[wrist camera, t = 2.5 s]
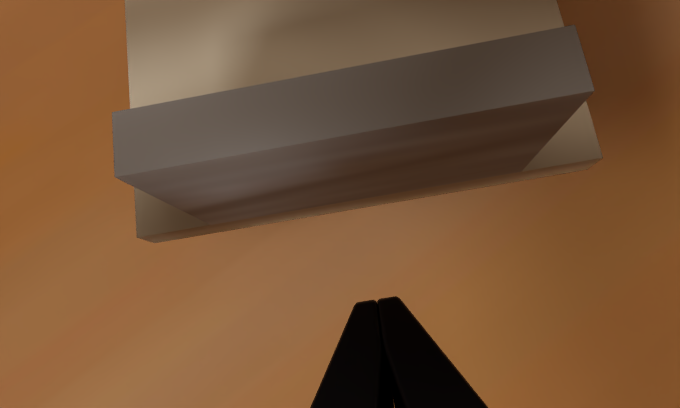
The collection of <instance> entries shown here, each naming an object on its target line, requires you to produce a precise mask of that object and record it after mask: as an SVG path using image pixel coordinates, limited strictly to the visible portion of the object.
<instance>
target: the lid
mask: <svg viewBox="0 0 680 408" xmlns="http://www.w3.org/2000/svg"><path fill="white" fill-rule="evenodd" d="M125 16H126V35H127V55H128V74H129V94H130V109H127V110H122V111H116V112H112V123H113V147H114V171H115V177H116V178H118V179H120V180H122V181H124V182H126V183H128V184H130V185H132V186H134V192H135V212H136V231H137V238H140V239H143V240H146V241H150V242H153V243H158V242H164V241H170V240H176V239H182V238H188V237H194V236H200V235H205V234H211V233H217V232H223V231H229V230H235V229H241V228H247V227H252V226H258V225H264V224H270V223H276V222H282V221H288V220H294V219H300V218H305V217H311V216H317V215H323V214H329V213H335V212H341V211H347V210H352V209H358V208H364V207H370V206H376V205H382V204H388V203H394V202H399V201H405V200H411V199H417V198H423V197H429V196H435V195H441V194H447V193H452V192H458V191H464V190H470V189H476V188H482V187H488V186H494V185H499V184H505V183H511V182H517V181H523V180H529V179H535V178H541V177H546V176H552V175H558V174H564V173H570V172H576V171H582V170H587V169H589V168H590V167H591V166H593V165H594V164H595V163H597V162H598V161H599V160H601V159H602V158H603V156H602V153H601V149H600V146H599V143H598V139H597V136H596V132H595V129H594V126H593V122H592V119H591V115H590V112H589V109H588V105H587V102H586V100H587V99H588V97H589V96H590V95H591V94H592V93H593V92H594V91H595V90H594V86H593V83H592V80H591V76H590V73H589V70H588V66H587V63H586V60H585V57H584V53H583V50H582V47H581V43H580V40H579V37H578V33H577V30H576V27H575V25H570V26H565V27H564V24H563V21H562V17H561V14H560V10H559V7H558V4H557V0H125Z"/></svg>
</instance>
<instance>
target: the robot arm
mask: <svg viewBox="0 0 680 408" xmlns="http://www.w3.org/2000/svg"><path fill="white" fill-rule="evenodd" d="M393 400H394V401H393ZM394 405H395V408H488V407H487V406H486V404H485V403H484V402H483V401H482V399H481V398H480V397H479V396H478V394H477V393H476V392H475V391H474V390H473V388H472V387H471V386H470V385H469V383H468V382H467V381H466V380H465V378H464V377H463V376H462V375H461V373H460V372H459V371H458V370H457V369H456V367H455V366H454V365H453V364H452V362H451V361H450V360H449V359H448V357H447V356H446V355H445V354H444V352H443V351H442V350H441V349H440V348H439V346H438V345H437V344H436V343H435V341H434V340H433V339H432V338H431V336H430V335H429V334H428V333H427V332H426V330H425V329H424V328H423V327H422V325H421V324H420V323H419V322H418V320H417V319H416V318H415V317H414V315H413V314H412V313H411V312H410V311H409V309H408V308H407V307H406V306H405V304H404V303H403V302H402V301H401V299H400V298H398V297H396V296H395V297H388V298H382V299H379V300H378V302H376V301H375V300H369V301H363V302H357V303H356V304H355V305H354V307H353V310H352V312H351V314H350V317H349V319H348V321H347V324H346V326H345V328H344V331H343V333H342V335H341V338H340V340H339V342H338V345H337V347H336V349H335V351H334V354H333V356H332V358H331V361H330V363H329V365H328V368H327V370H326V372H325V375H324V377H323V379H322V382H321V384H320V386H319V389H318V391H317V393H316V396H315V398H314V400H313V403H312V405H311V407H310V408H394Z"/></svg>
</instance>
